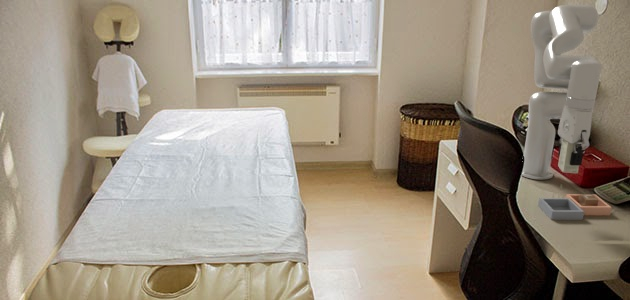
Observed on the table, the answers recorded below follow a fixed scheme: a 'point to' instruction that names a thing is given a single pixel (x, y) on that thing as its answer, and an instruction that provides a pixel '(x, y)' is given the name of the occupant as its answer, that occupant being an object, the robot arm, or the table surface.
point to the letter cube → (587, 200)
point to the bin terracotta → (592, 210)
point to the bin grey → (560, 209)
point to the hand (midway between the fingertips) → (569, 160)
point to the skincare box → (567, 157)
